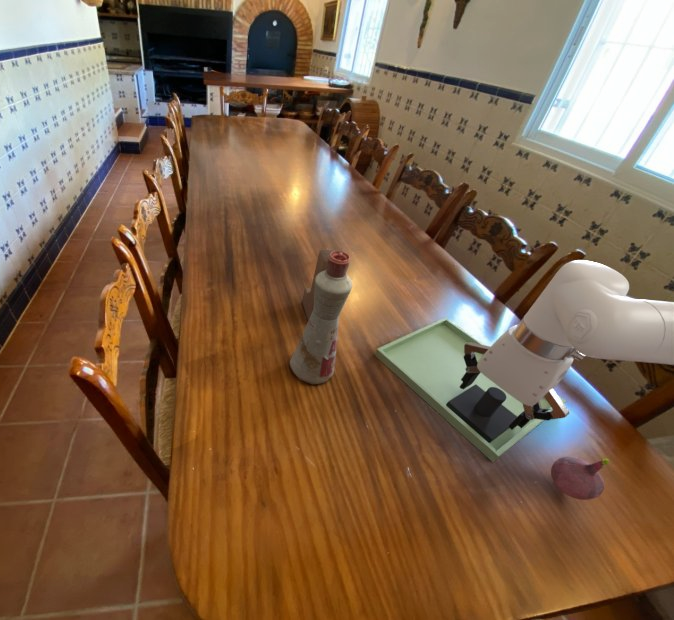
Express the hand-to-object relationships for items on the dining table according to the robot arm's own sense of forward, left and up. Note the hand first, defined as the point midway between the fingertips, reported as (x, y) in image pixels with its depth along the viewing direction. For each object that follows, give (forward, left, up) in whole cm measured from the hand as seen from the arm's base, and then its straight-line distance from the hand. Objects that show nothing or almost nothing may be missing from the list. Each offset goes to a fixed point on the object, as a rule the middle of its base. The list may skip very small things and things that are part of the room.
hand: (488, 404), depth 65 cm
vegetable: (-15, +1, -4) cm, 15 cm away
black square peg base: (0, 0, -3) cm, 3 cm away
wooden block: (+38, +10, -4) cm, 40 cm away
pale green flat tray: (+7, -5, -3) cm, 9 cm away
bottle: (+24, +22, -4) cm, 33 cm away
